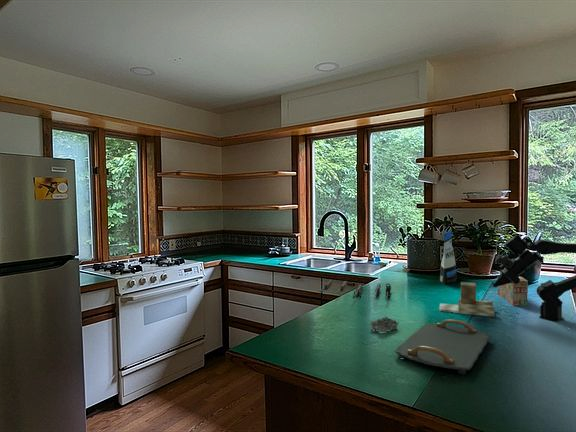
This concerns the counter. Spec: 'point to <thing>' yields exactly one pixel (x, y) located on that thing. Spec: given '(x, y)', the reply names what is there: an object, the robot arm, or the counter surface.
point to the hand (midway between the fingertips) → (493, 286)
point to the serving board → (445, 345)
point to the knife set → (358, 291)
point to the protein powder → (448, 261)
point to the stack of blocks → (515, 292)
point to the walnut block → (468, 293)
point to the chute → (470, 308)
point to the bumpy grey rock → (384, 324)
